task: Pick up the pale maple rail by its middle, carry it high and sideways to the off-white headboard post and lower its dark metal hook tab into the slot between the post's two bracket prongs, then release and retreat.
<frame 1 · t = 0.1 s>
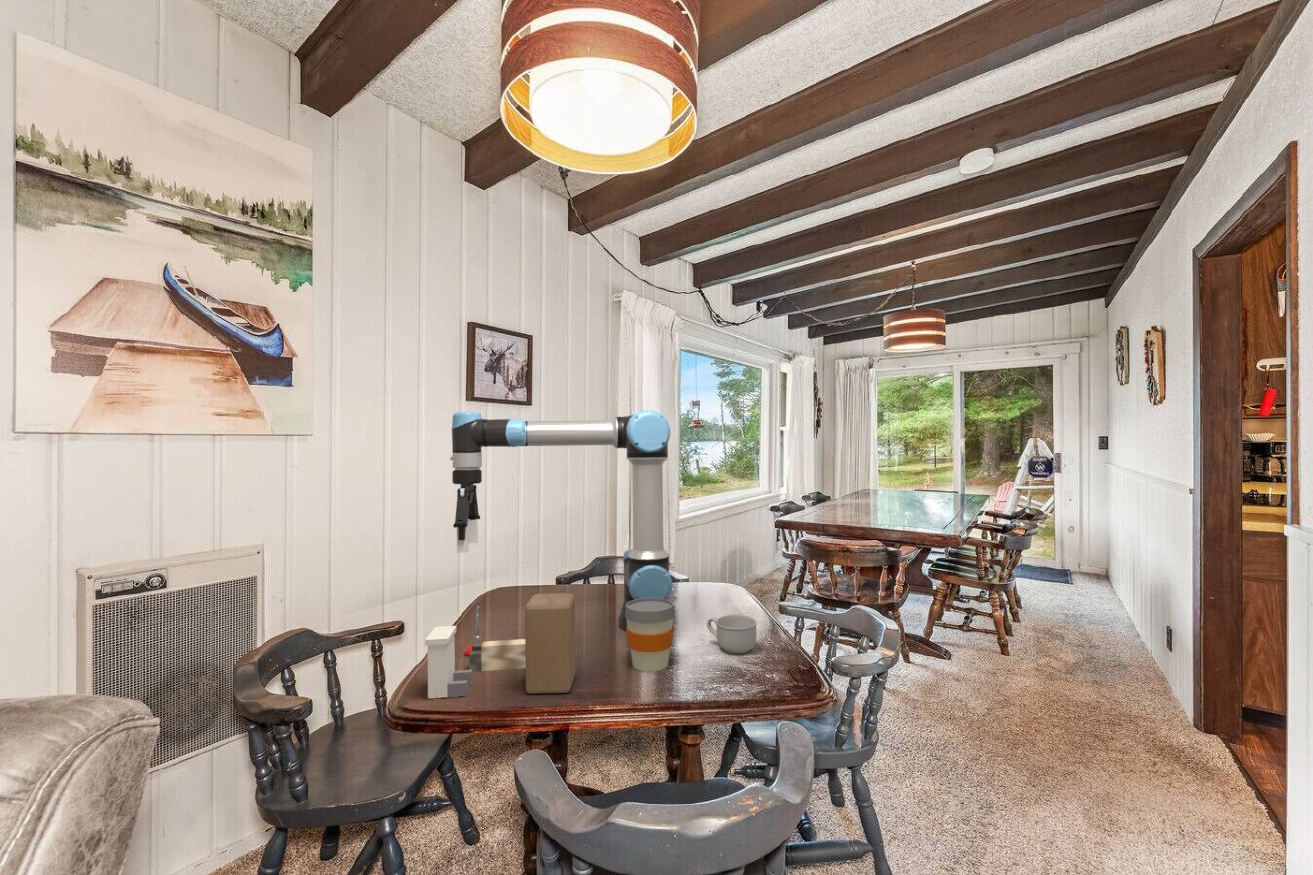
hand: (467, 547, 151), 28 cm above the table, fingers open, 13 cm apart
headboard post: (441, 691, 127), on the table
teacup: (731, 649, 151), on the table
reusable coffee cup: (650, 665, 140), on the table
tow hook: (483, 651, 152), on the table
block: (551, 686, 129), on the table
rail: (505, 666, 140), on the table
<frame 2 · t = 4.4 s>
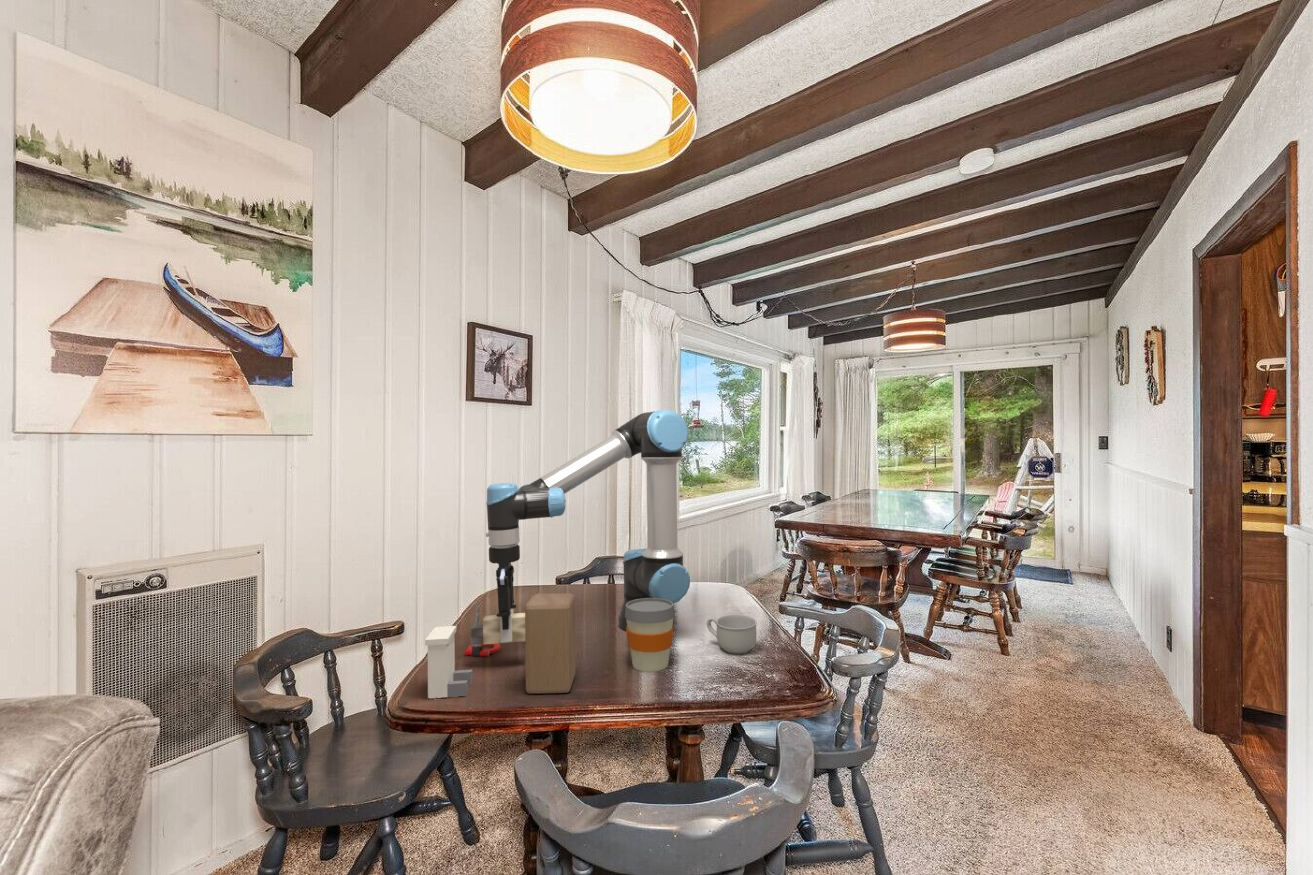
hand: (507, 638, 141), 7 cm above the table, fingers closed on rail, 4 cm apart
rail: (507, 639, 141), point 7 cm above the table, touching gripper
everything else where it was.
when the fingers open (1 cm above the table, at t = 9.2 s): rail stays where it is, on the table.
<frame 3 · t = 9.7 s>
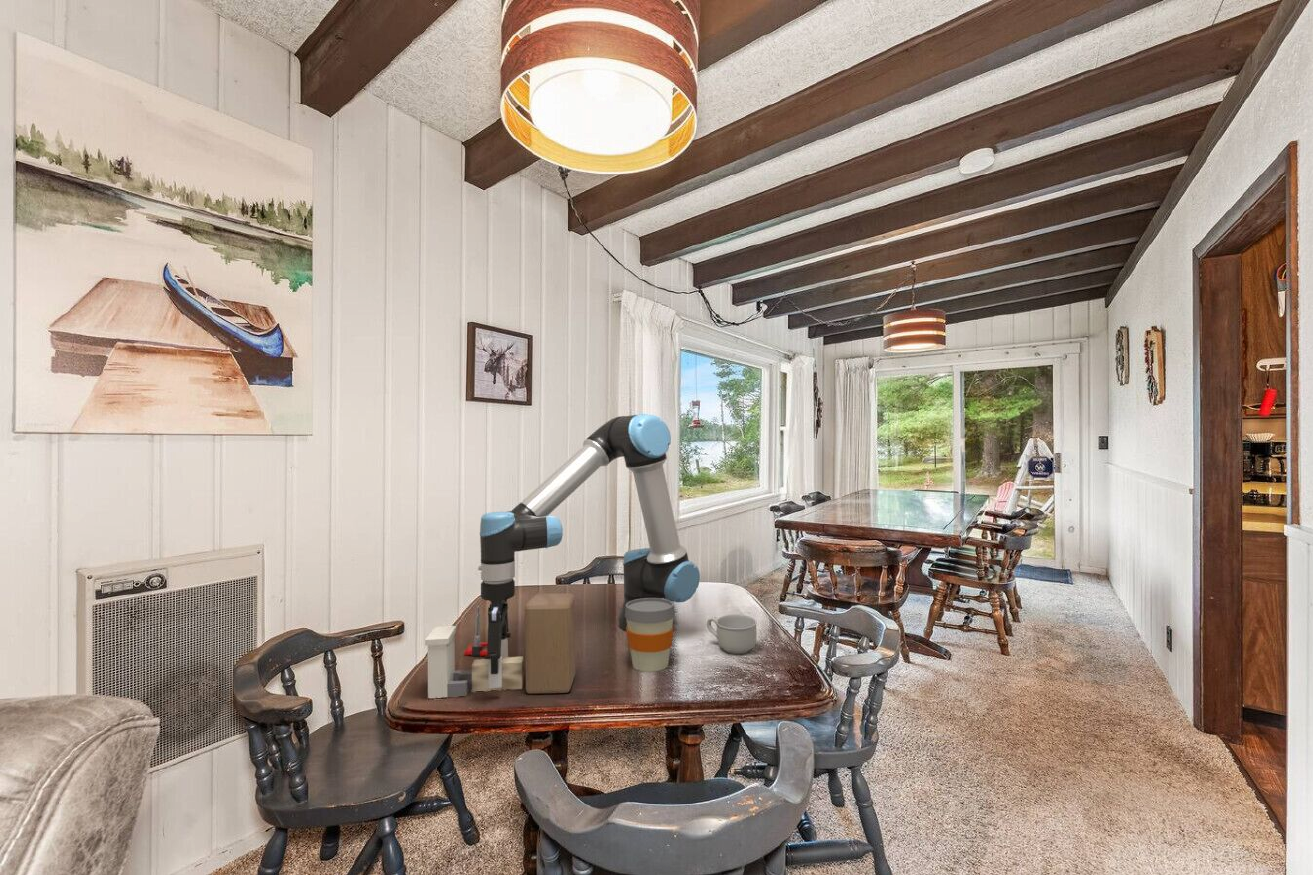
hand: (498, 676, 128), 2 cm above the table, fingers open, 10 cm apart
rail: (498, 687, 128), on the table
everything else where it was.
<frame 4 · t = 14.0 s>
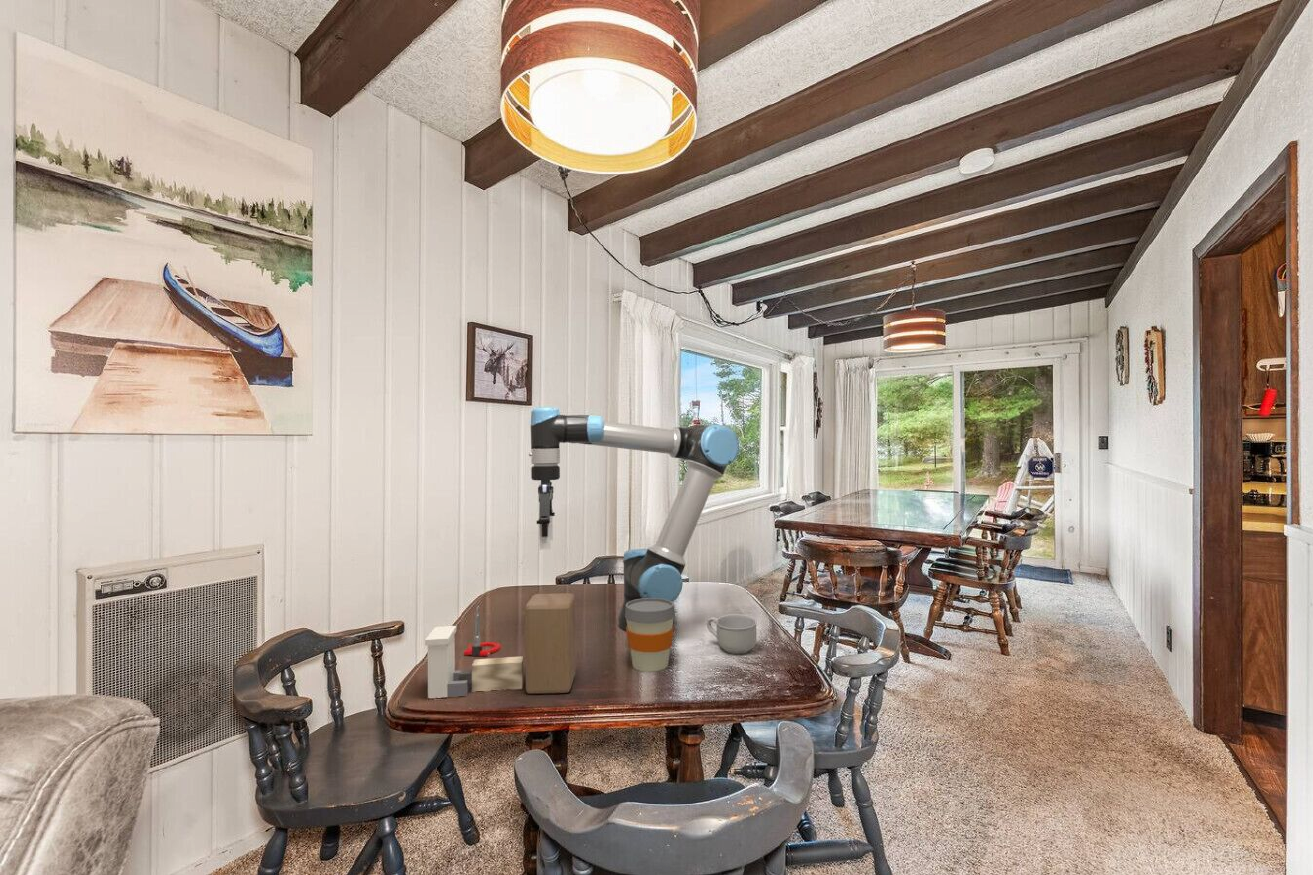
hand: (546, 544, 150), 29 cm above the table, fingers open, 13 cm apart
nothing on the table moved.
at the end: rail 0.2 cm from the target spot on the table beside the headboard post, on the table; rail tilted 0°; the gripper is holding nothing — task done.
